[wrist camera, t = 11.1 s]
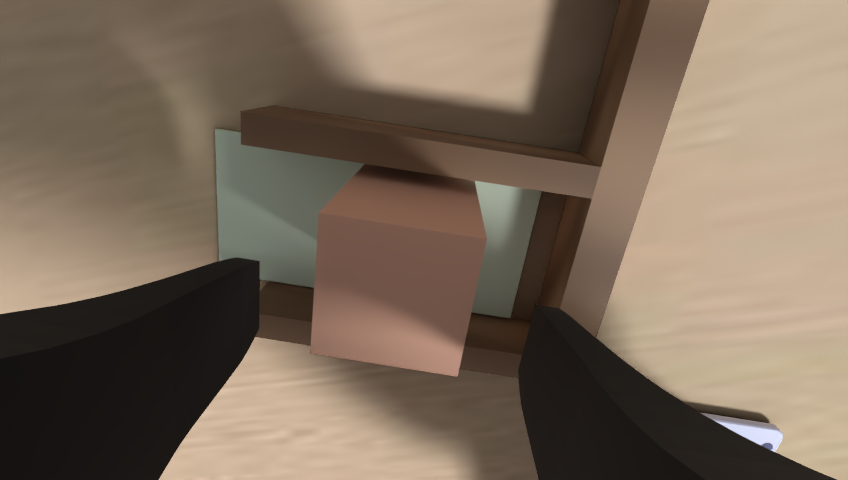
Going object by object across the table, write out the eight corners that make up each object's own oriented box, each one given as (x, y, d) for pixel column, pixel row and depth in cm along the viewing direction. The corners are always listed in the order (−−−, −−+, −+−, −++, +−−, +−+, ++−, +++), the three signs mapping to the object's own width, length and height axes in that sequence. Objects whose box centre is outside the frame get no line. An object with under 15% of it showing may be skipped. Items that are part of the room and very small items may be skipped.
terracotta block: (455, 278, 17) (457, 376, 12) (355, 262, 17) (310, 353, 12) (474, 180, 16) (487, 239, 10) (365, 163, 16) (318, 212, 10)
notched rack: (562, 347, 18) (578, 387, 16) (222, 294, 18) (189, 326, 16) (799, -422, 10) (899, -564, 8) (199, -511, 10) (126, -678, 8)
